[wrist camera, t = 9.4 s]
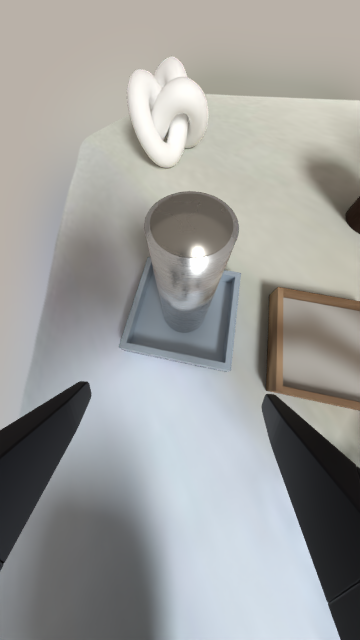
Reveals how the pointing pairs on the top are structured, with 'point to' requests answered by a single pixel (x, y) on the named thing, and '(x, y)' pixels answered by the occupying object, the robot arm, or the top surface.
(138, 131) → the white knot sculpture
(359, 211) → the coffee mug
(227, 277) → the grey tray
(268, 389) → the walnut tray
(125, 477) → the top surface
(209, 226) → the scoop cup
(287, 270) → the top surface
